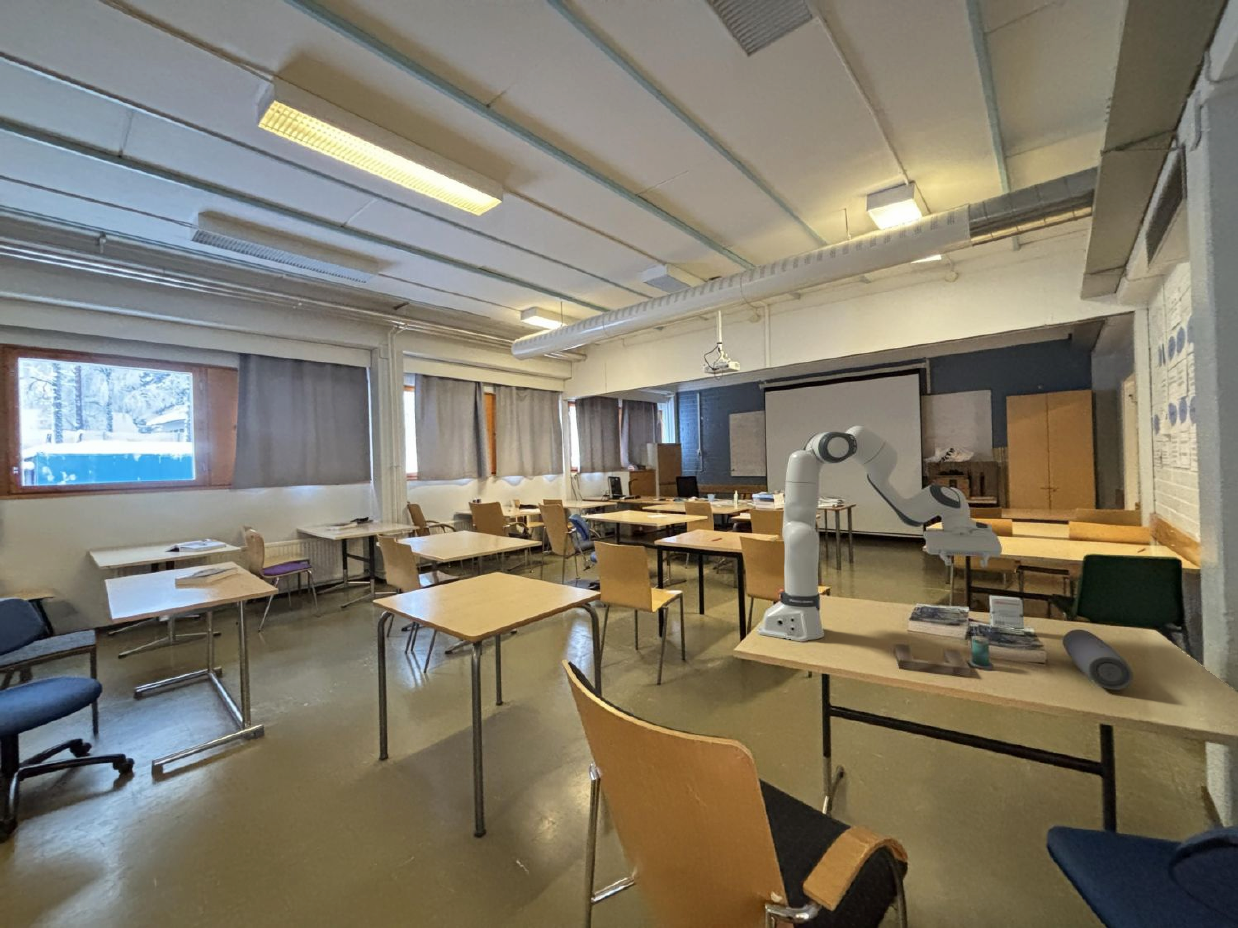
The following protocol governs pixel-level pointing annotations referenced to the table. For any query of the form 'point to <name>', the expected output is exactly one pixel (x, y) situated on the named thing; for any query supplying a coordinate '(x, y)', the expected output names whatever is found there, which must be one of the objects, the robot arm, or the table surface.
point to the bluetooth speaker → (1097, 660)
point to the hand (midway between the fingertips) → (966, 565)
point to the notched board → (951, 667)
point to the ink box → (1006, 612)
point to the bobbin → (980, 654)
